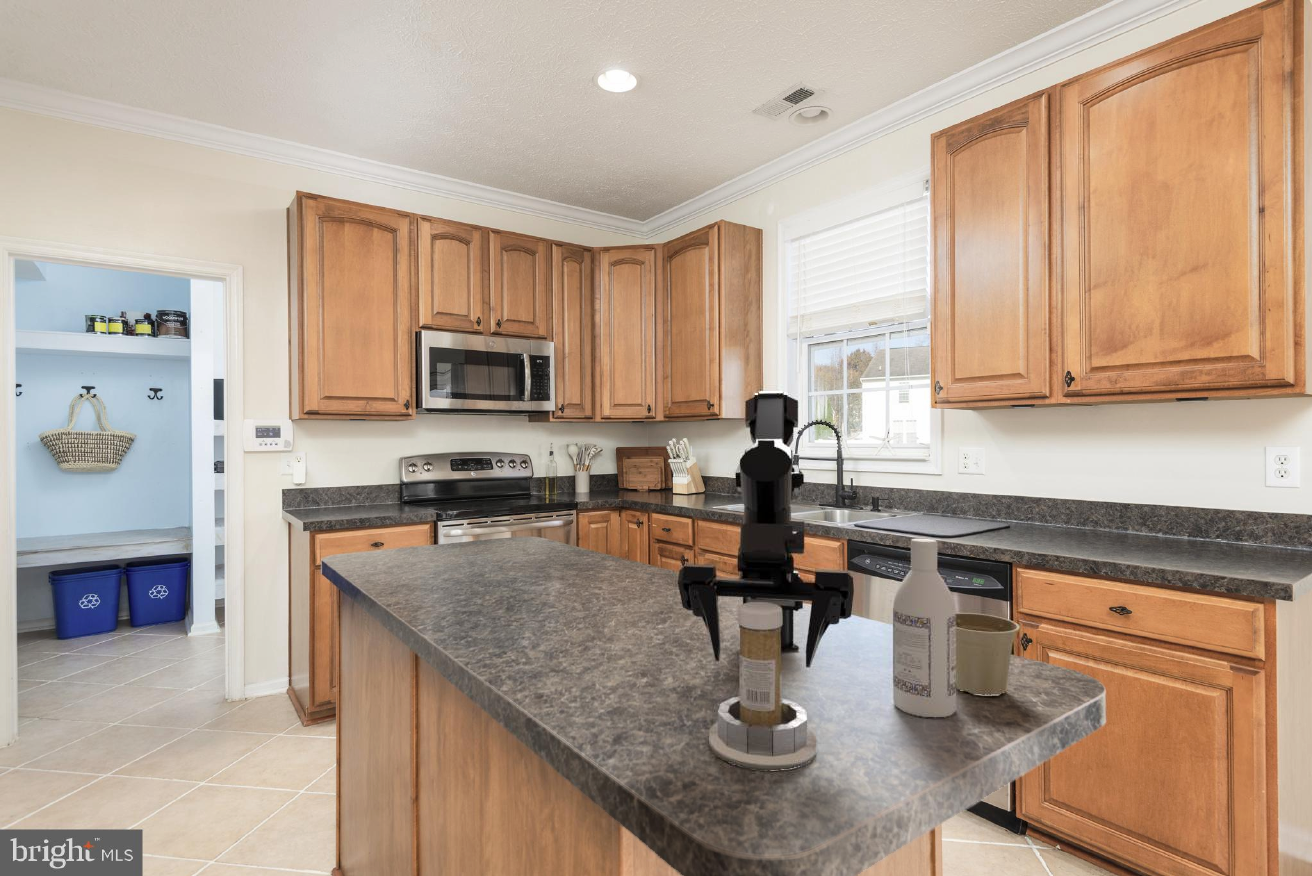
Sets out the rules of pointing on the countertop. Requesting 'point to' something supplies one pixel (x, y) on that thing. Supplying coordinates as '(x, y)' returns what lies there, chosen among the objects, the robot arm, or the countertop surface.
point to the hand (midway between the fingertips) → (761, 662)
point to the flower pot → (983, 652)
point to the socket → (763, 738)
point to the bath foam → (924, 638)
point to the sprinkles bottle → (760, 663)
